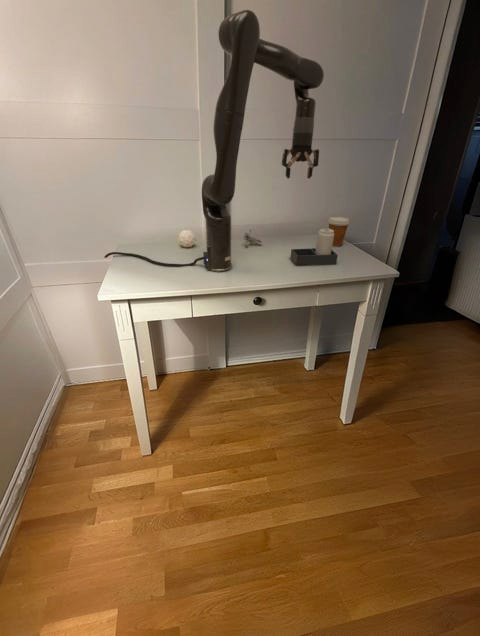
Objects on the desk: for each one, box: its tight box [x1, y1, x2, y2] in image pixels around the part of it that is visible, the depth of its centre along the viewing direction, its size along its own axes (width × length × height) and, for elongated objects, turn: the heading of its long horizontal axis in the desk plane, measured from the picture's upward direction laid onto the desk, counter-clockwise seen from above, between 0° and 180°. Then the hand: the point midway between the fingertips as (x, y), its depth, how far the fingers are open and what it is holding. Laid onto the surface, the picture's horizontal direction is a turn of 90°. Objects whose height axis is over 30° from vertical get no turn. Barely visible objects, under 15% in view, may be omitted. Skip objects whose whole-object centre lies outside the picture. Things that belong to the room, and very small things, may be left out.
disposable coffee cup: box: [327, 216, 351, 247], centre depth 146 cm, size 10×10×12 cm
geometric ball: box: [177, 229, 197, 248], centre depth 142 cm, size 8×8×8 cm
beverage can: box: [315, 228, 334, 255], centre depth 127 cm, size 6×6×12 cm
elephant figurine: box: [243, 228, 263, 248], centre depth 146 cm, size 10×6×9 cm
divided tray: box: [289, 247, 338, 267], centre depth 128 cm, size 17×9×4 cm, turn 97°
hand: (298, 178), depth 126 cm, fingers open, 8 cm apart
